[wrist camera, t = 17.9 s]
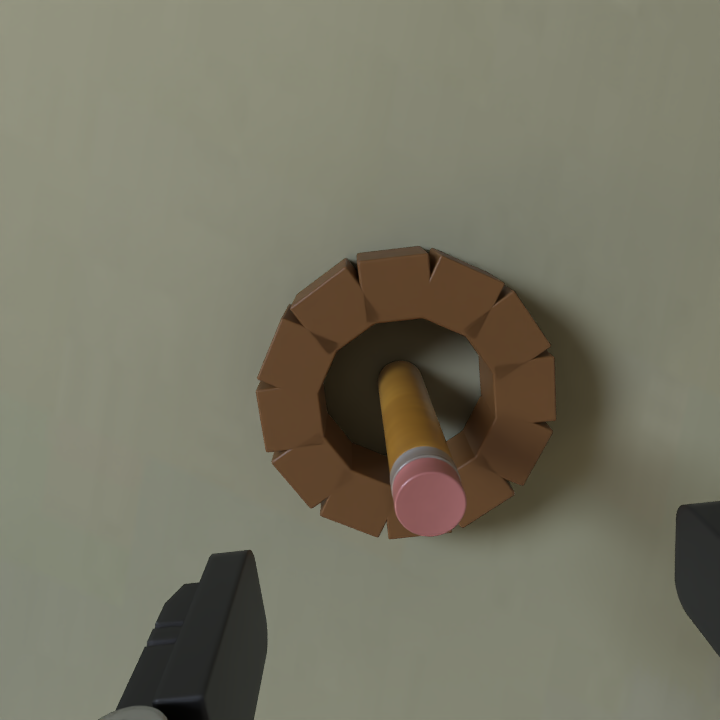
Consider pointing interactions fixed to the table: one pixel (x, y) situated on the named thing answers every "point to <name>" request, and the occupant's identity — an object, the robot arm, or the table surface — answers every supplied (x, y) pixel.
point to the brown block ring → (397, 303)
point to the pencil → (418, 454)
